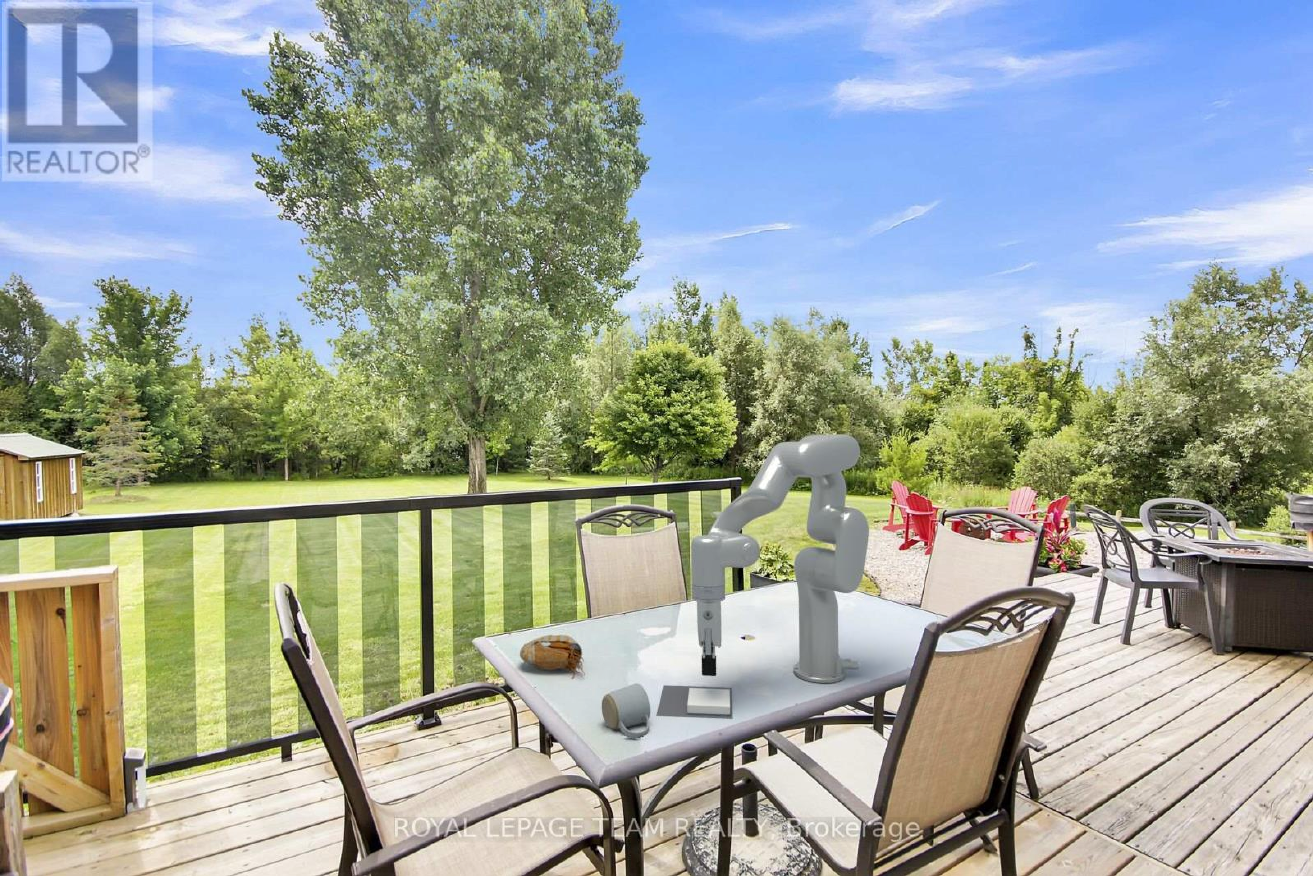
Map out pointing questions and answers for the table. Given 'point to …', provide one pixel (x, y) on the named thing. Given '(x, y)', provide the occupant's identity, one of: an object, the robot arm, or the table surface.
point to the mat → (683, 702)
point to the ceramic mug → (627, 709)
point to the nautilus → (553, 653)
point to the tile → (708, 701)
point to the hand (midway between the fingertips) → (709, 674)
